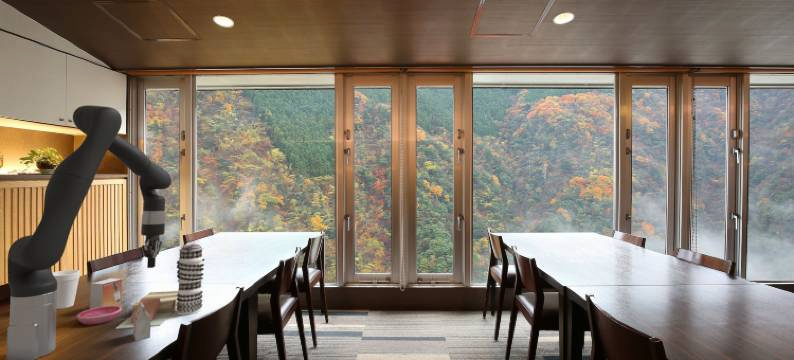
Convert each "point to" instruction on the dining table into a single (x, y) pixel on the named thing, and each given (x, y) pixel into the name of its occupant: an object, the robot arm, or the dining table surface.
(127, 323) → the mat
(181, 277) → the decorative candle
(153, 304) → the salmon pink brick
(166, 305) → the panel
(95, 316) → the saucer
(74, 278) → the foam cup
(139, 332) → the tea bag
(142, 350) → the dining table surface
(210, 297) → the dining table surface
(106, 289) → the small box
